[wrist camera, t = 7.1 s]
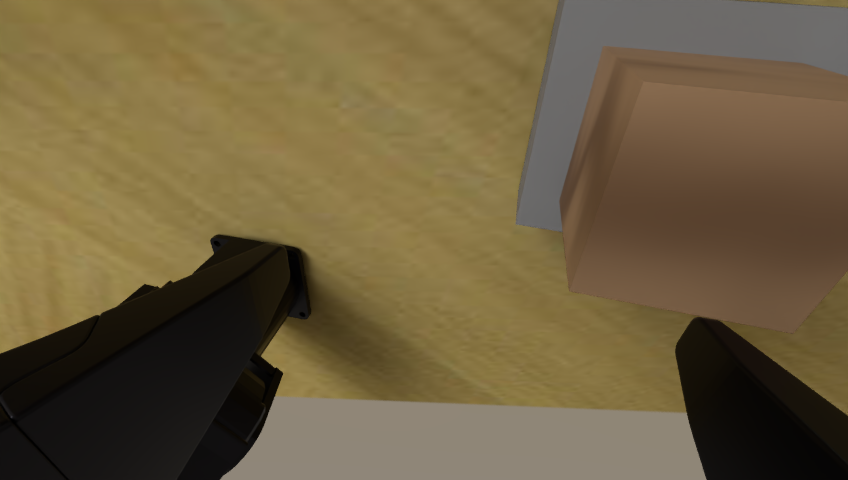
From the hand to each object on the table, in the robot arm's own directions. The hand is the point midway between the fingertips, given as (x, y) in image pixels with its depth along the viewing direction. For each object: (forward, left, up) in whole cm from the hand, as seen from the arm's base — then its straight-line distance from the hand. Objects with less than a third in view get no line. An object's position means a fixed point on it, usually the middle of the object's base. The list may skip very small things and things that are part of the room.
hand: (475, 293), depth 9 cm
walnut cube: (+1, -6, -9) cm, 11 cm away
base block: (+1, -6, -12) cm, 14 cm away
